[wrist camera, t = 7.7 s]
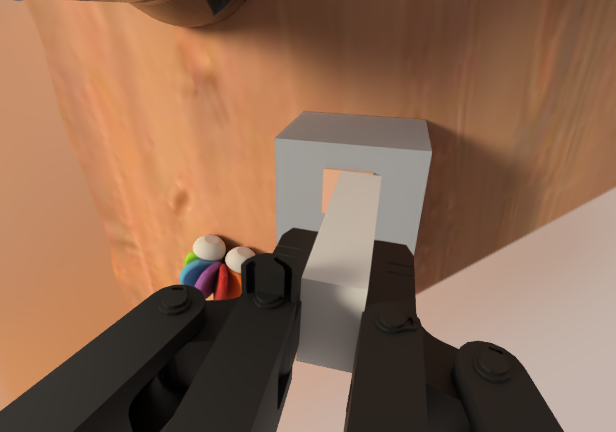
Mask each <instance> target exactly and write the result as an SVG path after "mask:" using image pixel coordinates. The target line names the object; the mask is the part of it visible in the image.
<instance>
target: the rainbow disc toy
mask: <svg viewBox="0 0 616 432" xmlns="http://www.w3.org/2000/svg"><path fill="white" fill-rule="evenodd" d="M225 254H226V247H225V244H224V242H223V241H222V239H220V238H219V237H218V236H215V235H210V234H209V235H204V236H201V237H200V238H198V239H197V240H196V242H195V243H194V245H193V251H192V252H190V253H189V254H188V255H187V256H186V258H185V262H184V266H185V268H184V269H183V270H182V271H181V273H180V276H179V280H180V282H181V284H182V285H190V286H194V287H196V288H198V289H199V290H201V291H202V292H203V294H204V296H205V299H206V298H208V297H209V296H210V295H211V294H212V293H214V294H213V295H214V300H226V299H233V298H237V297H240V295H241V293H242V289H241V264H242V263H243V262H244V261H245V260H246V259H248V258H250V257H252V256H254V255H255V253H254V252H253V251H252V250H251V249H249V248H247V247H242V246H241V247H236V248H233V249H232V250H230V251H229V252H228V254H227V255H226V258H225V262H226V264H227V265H226V264H222V263H221V261H222V258H223V257H224V255H225Z"/></svg>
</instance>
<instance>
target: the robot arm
mask: <svg viewBox="0 0 616 432" xmlns="http://www.w3.org/2000/svg"><path fill="white" fill-rule="evenodd" d="M15 1H22V0H15ZM80 1H104V2H128V3H130V4H131V5H133V6H135V7H136V8H138V9H139V10H141V11H142V12H144V13H146V14H147V15H149V16H150V17H152V18H154V19H156V20H159V21H161V22H164V23H167V24H171V25H175V26H183V27H194V26H206V25H211V24H214V23H217V22H219V21H221V20H223V19H225V18H227V17H228V16H230V15H231V14H233V13H234V12H235V11H236V10H237V9H238V8H239V7H240V6H241V5H242V4H243V3H244V2H245V0H80ZM381 179H382V176H377V175H369V174H362V173H355V172H347V171H341V173H340V176H339V178H338V181H337V184H336V186H335V189H334V192H333V195H332V197H331V200H330V203H329V205H328V208H327V211H326V213H325V216H324V219H323V221H322V224H321V227H320V230H319V232H318V231H312V230H305V229H299V228H292V229H290V230H289V231H287V232H286V233H284V234H283V235H282V236H281V238H280V240H279V242H278V244H277V246H276V248H275V250H274V252H273V253H264V254H258V255H254V256H252V257H250V258H248V259H246V260H245V261H244V262H243V263H242V264H241V289H242V293H241V295H240V297H237V298H233V299H226V300H209V301H206V300H205V296H204V294H203V292H202V291H201V290H199V289H198V288H196V287H194V286H190V285H172V286H169V287H165V288H162V289H160V290H159V291H157V292H155V293H153V294H152V295H151V296H149V297H148V298H147V299H146V300H144V301H143V302H142V303H140V304H139V305H138V306H136V307H135V308H134V309H133V310H131V311H130V312H129V313H127V314H126V315H125V316H123V317H122V318H121V319H120V320H118V321H117V322H116V323H115V324H113V325H112V326H110V327H109V328H108V329H107V330H105V331H104V332H103V333H101V334H100V335H99V336H98V337H96V338H95V339H94V340H92V341H91V342H90V343H88V344H87V345H86V346H85V347H83V348H82V349H81V350H79V351H78V352H77V353H75V354H74V355H73V356H72V357H70V358H69V359H68V360H66V361H65V362H64V363H62V364H61V365H60V366H59V367H57V368H56V369H55V370H53V371H52V372H51V373H49V374H48V375H47V376H46V377H44V378H43V379H42V380H40V381H39V382H38V383H36V384H35V385H34V386H33V387H31V388H30V389H29V390H27V391H26V392H25V393H23V394H22V395H21V396H19V397H18V398H17V399H16V400H14V401H13V402H12V403H10V404H9V405H8V406H7V407H5V408H4V409H3V410H1V411H0V432H276V431H277V427H278V424H279V420H280V417H281V414H282V410H283V407H284V403H285V400H286V397H287V393H288V390H289V386H290V383H291V380H292V365H293V362H294V359H295V355H296V352H297V358H296V360H297V361H300V362H305V363H310V364H314V365H319V366H323V367H327V368H332V369H337V370H342V371H346V372H351V373H352V379H351V385H350V391H349V396H348V403H347V408H346V419H345V426H344V432H564V431H563V429H562V428H561V426H560V425H559V423H558V421H557V420H556V418H555V417H554V415H553V413H552V412H551V410H550V408H549V407H548V405H547V403H546V402H545V400H544V399H543V397H542V395H541V394H540V392H539V390H538V389H537V387H536V386H535V384H534V382H533V381H532V379H531V378H530V376H529V374H528V373H527V371H526V369H525V368H524V366H523V365H522V364H521V363H520V362H519V360H518V359H517V358H516V357H515V356H513V355H512V354H511V353H509V352H508V351H507V350H505V349H504V348H501V347H499V346H497V345H495V344H492V343H488V342H483V341H473V342H467V343H466V344H464V345H463V346H462V347H460V349H457V348H455V347H453V346H451V345H449V344H446V343H444V342H442V341H440V340H438V339H437V338H435V337H433V336H432V335H431V334H429V333H428V332H427V331H426V330H425V329H424V328H423V327H422V326H421V322H420V319H419V318H418V317H417V314H416V299H415V278H414V255H413V254H412V252H411V251H410V250H409V248H408V247H407V245H405V244H399V243H392V242H386V241H380V240H374V236H375V228H376V220H377V212H378V203H379V195H380V187H381Z"/></svg>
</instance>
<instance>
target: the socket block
mask: <svg viewBox="0 0 616 432" xmlns="http://www.w3.org/2000/svg"><path fill="white" fill-rule="evenodd" d="M431 156H432V148H431V143H430V138H429V133H428V128H427V123H426V120H421V119H407V118H393V117H379V116H364V115H350V114H336V113H322V112H308V111H303V112H302V113H301V114H300V115H299V116H298V117H297V118H296V119H295V120H294V121H293V122H292V123H291V124H289V125H288V126H287V127H286V128H285V129H284V130H283V131H282V132H281V133H280V134H279V135H278V136H277V137H275V176H276V224H277V244H278V242H279V240H280V238H281V236H282V235H283V234H284V233H286V232H287V231H289V230H290V229H292V228H299V229H305V230H312V231H318V232H319V230H320V227H321V224H322V221H323V219H324V216H325V213H326V211H327V208H328V205H329V203H330V200H331V197H332V195H333V192H334V189H335V186H336V184H337V181H338V178H339V176H340V173H341V171H347V172H355V173H362V174H369V175H377V176H382V179H381V187H380V195H379V203H378V212H377V220H376V228H375V236H374V240H380V241H386V242H392V243H399V244H405V245H407V247H408V248H409V250H410V251H411V252H412V254H413V255H414V252H415V246H416V241H417V235H418V229H419V224H420V218H421V212H422V207H423V201H424V195H425V190H426V184H427V178H428V173H429V167H430V162H431Z"/></svg>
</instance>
